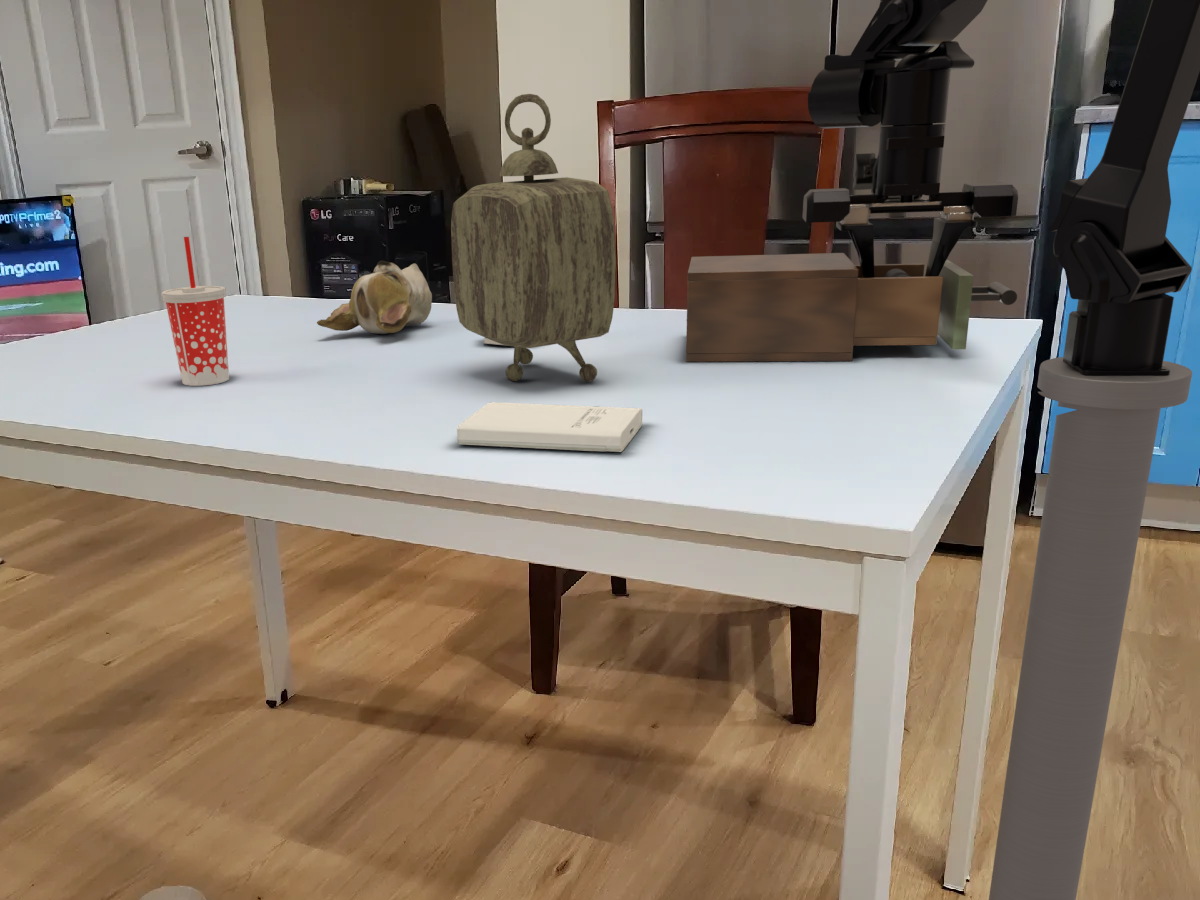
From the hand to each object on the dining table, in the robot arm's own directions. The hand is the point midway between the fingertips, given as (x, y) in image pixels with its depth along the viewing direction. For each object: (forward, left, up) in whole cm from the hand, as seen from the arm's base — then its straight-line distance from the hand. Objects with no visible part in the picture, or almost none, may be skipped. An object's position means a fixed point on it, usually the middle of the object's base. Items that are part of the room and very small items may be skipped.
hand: (898, 294), depth 108 cm
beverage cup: (+68, +15, -5) cm, 69 cm away
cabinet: (+13, 0, -5) cm, 14 cm away
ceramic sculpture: (+57, -12, -5) cm, 58 cm away
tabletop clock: (+35, +14, -5) cm, 38 cm away
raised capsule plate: (0, 0, -1) cm, 1 cm away
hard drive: (+30, +35, -5) cm, 46 cm away
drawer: (-1, 0, -4) cm, 4 cm away
